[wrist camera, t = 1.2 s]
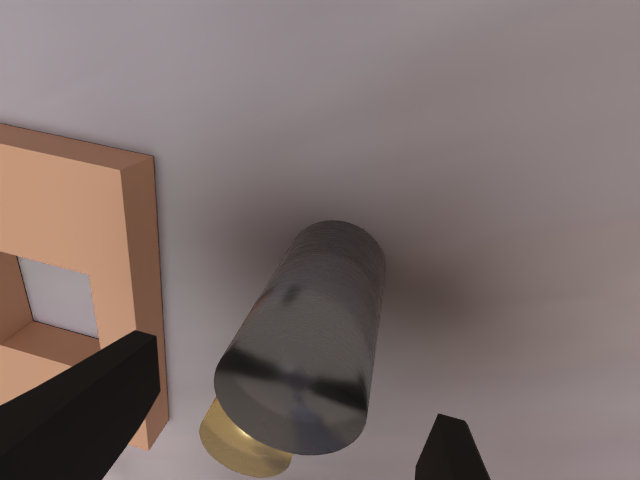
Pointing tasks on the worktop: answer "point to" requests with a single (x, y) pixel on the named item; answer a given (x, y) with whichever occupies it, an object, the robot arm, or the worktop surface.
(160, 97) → the worktop surface
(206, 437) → the short brass pin
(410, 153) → the worktop surface
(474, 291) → the worktop surface
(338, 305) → the long steel pin
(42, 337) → the hole board
